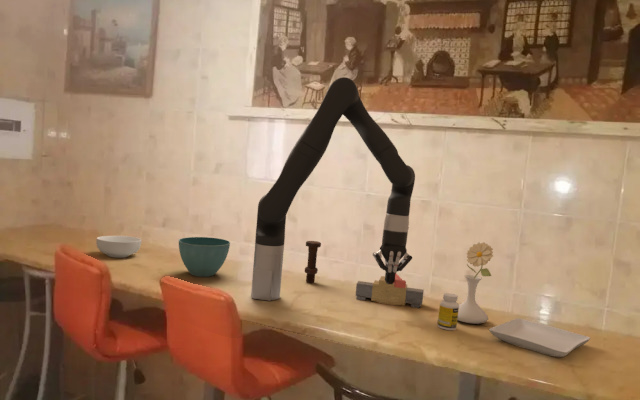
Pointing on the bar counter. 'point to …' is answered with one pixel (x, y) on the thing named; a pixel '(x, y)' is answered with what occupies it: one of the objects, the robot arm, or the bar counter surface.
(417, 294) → the pipe and valve
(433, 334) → the bar counter surface
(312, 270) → the bolt
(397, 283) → the lever
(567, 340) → the salad plate
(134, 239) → the cereal bowl
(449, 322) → the supplement bottle
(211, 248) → the teal bowl
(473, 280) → the flower in vase
